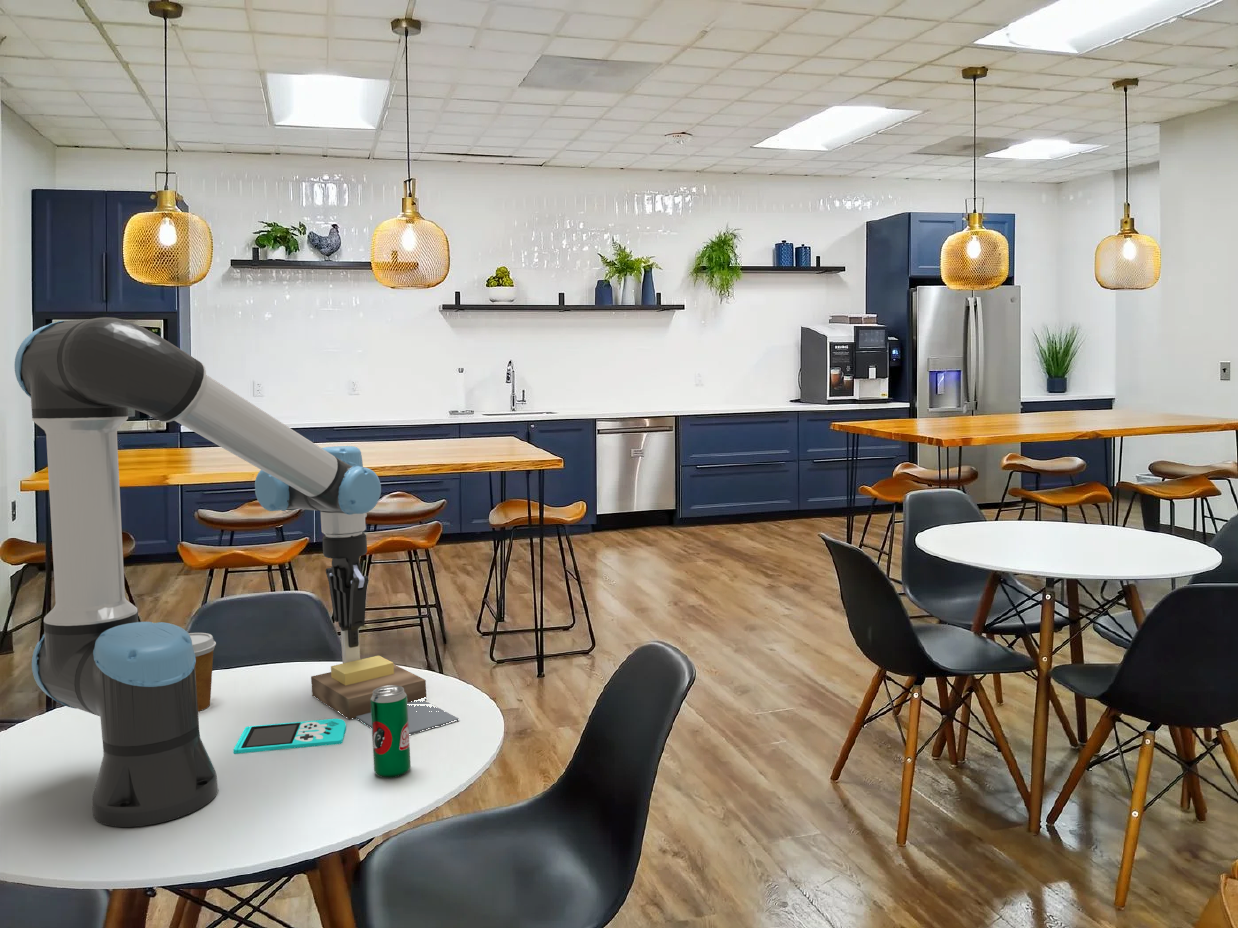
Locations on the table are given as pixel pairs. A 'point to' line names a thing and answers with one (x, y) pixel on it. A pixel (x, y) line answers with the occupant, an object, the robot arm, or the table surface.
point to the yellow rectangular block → (362, 670)
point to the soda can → (390, 731)
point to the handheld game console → (291, 735)
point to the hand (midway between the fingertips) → (351, 663)
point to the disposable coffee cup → (203, 667)
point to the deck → (364, 691)
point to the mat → (419, 717)
